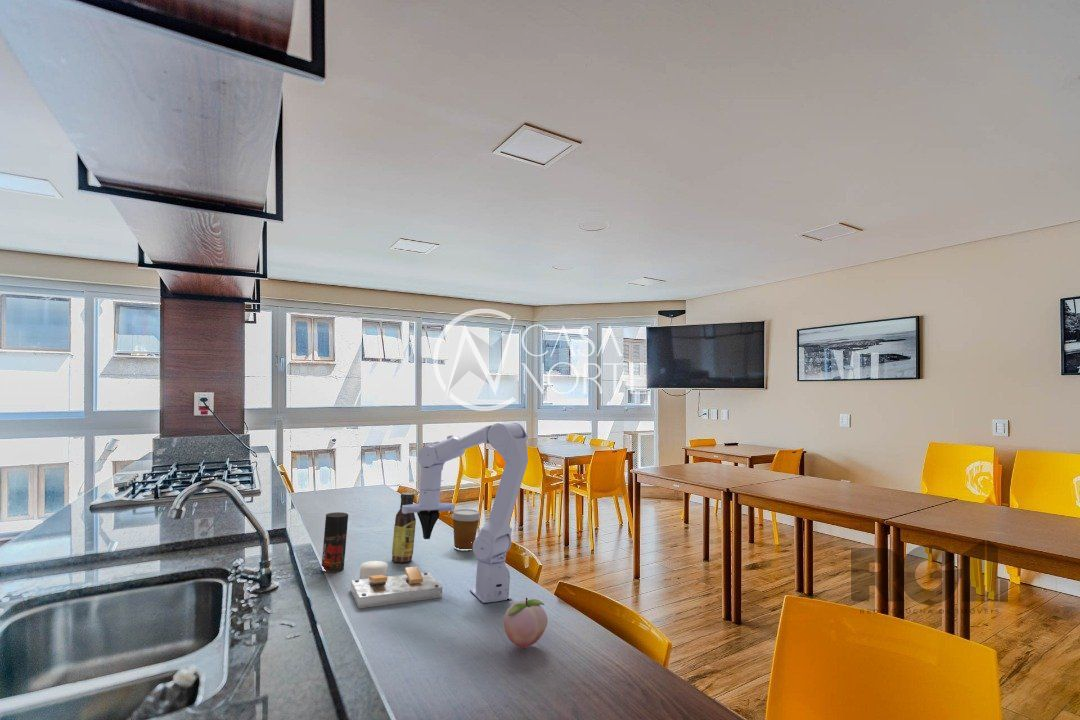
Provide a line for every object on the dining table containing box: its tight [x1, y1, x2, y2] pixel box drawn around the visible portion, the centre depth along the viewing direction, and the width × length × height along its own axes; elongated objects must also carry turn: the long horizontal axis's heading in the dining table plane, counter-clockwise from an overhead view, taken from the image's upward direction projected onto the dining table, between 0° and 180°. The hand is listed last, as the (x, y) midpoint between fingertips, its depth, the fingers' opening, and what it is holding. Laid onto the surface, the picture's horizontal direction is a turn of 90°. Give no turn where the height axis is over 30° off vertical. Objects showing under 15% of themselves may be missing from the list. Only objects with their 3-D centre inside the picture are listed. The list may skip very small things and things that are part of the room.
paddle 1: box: [369, 575, 387, 583], centre depth 130 cm, size 6×3×1 cm, turn 30°
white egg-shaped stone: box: [358, 560, 388, 580], centre depth 140 cm, size 7×7×4 cm
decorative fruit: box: [503, 597, 548, 649], centre depth 107 cm, size 9×8×10 cm
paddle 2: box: [404, 565, 423, 584], centre depth 134 cm, size 6×3×1 cm, turn 28°
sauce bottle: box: [391, 492, 417, 564], centre depth 158 cm, size 6×6×20 cm
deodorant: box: [321, 511, 349, 574], centre depth 147 cm, size 6×6×15 cm
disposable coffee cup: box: [451, 508, 481, 549], centre depth 174 cm, size 10×10×12 cm
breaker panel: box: [350, 571, 443, 609], centre depth 131 cm, size 12×20×3 cm, turn 119°
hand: (426, 538), depth 145 cm, fingers closed
